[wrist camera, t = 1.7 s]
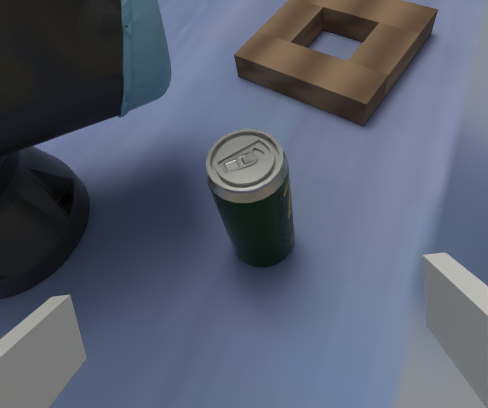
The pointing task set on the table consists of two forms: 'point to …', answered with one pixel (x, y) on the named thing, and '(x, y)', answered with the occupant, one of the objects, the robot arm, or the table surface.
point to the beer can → (253, 195)
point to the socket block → (331, 68)
